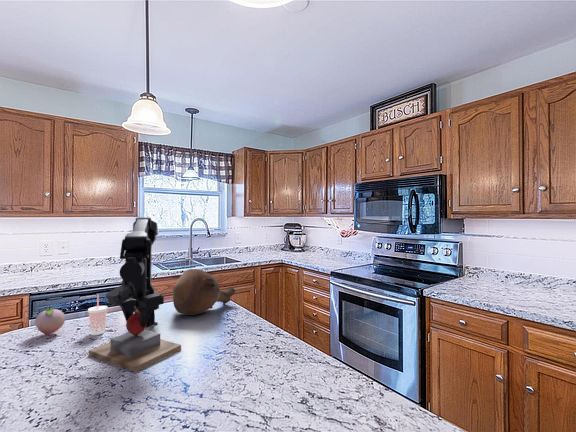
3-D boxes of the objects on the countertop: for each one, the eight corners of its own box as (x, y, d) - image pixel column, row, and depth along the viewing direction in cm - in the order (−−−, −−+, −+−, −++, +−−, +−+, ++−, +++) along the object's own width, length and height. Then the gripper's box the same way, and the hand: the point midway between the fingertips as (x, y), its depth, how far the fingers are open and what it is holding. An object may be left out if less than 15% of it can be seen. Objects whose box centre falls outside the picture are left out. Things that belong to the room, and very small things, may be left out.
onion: (150, 333, 97) (151, 308, 97) (139, 339, 91) (140, 312, 91) (133, 332, 97) (134, 307, 98) (121, 338, 92) (122, 312, 92)
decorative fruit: (68, 334, 108) (68, 306, 108) (39, 341, 102) (39, 312, 102) (61, 328, 114) (61, 301, 114) (33, 334, 108) (33, 306, 108)
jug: (176, 325, 118) (238, 320, 139) (189, 277, 117) (249, 279, 138) (157, 304, 132) (216, 302, 153) (169, 261, 132) (226, 265, 153)
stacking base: (88, 355, 92) (88, 338, 92) (136, 336, 106) (136, 322, 106) (135, 372, 82) (135, 353, 82) (181, 349, 96) (181, 333, 96)
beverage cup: (104, 334, 108) (104, 295, 108) (84, 336, 106) (85, 297, 106) (109, 328, 114) (110, 291, 114) (91, 330, 112) (91, 292, 112)
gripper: (92, 277, 91) (91, 328, 91) (131, 283, 83) (131, 340, 83) (126, 271, 101) (126, 317, 101) (165, 276, 93) (164, 327, 93)
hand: (136, 325), depth 94 cm, fingers open, 7 cm apart
